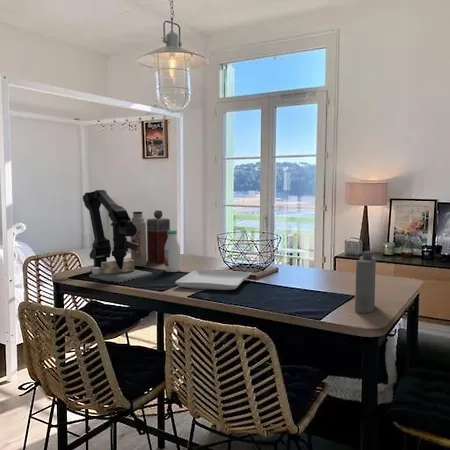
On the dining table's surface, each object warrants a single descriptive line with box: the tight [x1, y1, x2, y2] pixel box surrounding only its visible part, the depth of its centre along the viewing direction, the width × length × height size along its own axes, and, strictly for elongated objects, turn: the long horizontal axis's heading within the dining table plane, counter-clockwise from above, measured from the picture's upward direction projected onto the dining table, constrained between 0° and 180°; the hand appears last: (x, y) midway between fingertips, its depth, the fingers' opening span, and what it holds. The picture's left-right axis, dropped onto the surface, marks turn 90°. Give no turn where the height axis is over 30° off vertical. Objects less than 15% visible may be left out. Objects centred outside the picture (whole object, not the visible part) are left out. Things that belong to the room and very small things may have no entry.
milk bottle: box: [164, 229, 181, 273], centre depth 232 cm, size 8×8×20 cm
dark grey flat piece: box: [88, 266, 153, 284], centre depth 221 cm, size 22×20×5 cm
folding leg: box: [101, 259, 136, 274], centre depth 223 cm, size 15×3×5 cm, turn 117°
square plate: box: [174, 269, 252, 291], centre depth 205 cm, size 27×27×4 cm
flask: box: [354, 250, 377, 315], centre depth 165 cm, size 15×6×20 cm, turn 157°
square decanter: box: [146, 209, 171, 264], centre depth 258 cm, size 9×11×28 cm
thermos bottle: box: [130, 211, 147, 267], centre depth 248 cm, size 8×8×28 cm
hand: (120, 269), depth 220 cm, fingers closed
